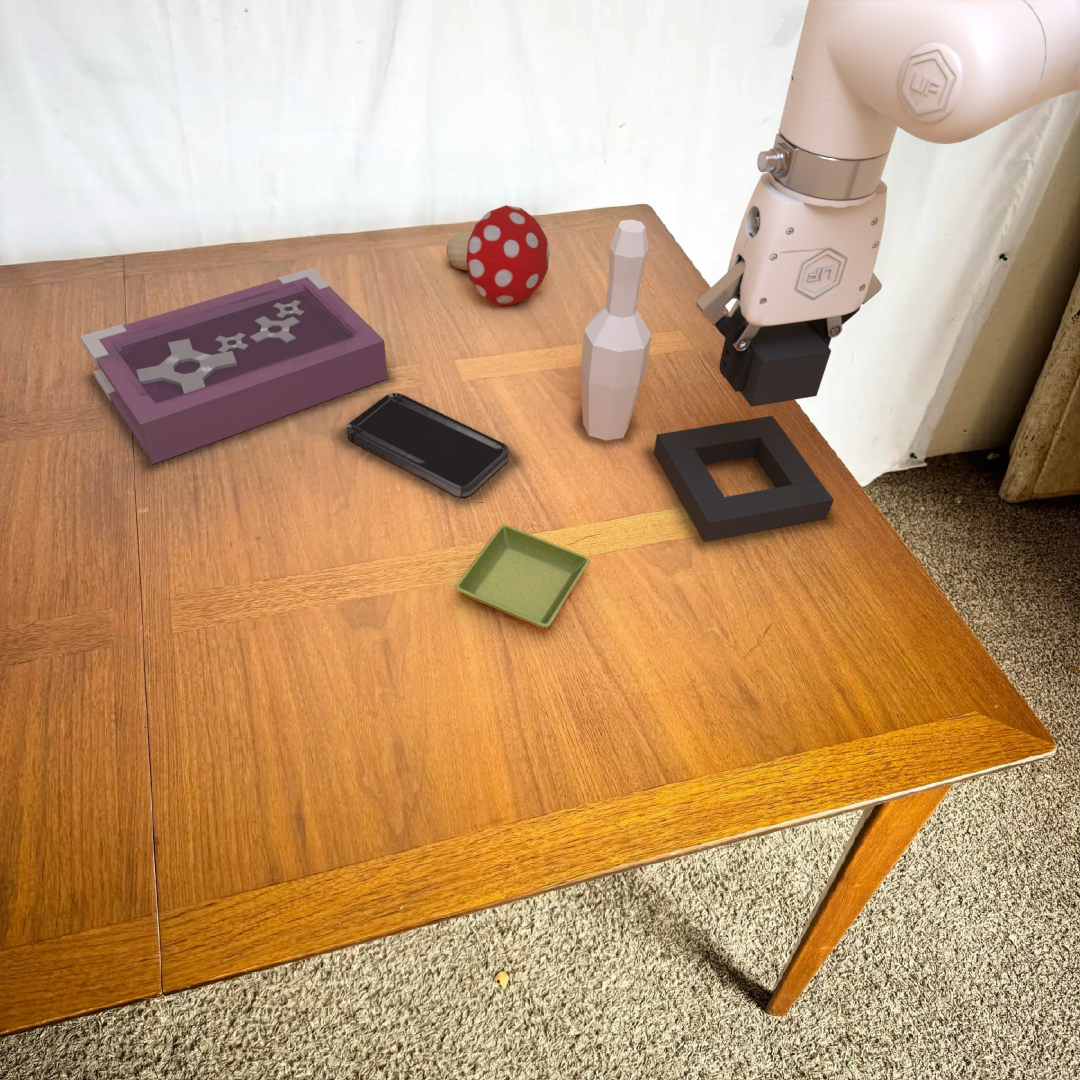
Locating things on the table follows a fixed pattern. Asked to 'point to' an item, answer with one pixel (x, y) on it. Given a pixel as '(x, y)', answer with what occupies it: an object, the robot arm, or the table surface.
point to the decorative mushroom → (503, 255)
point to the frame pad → (748, 512)
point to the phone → (428, 444)
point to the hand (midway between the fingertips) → (769, 374)
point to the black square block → (785, 364)
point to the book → (234, 362)
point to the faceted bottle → (616, 340)
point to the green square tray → (523, 576)
